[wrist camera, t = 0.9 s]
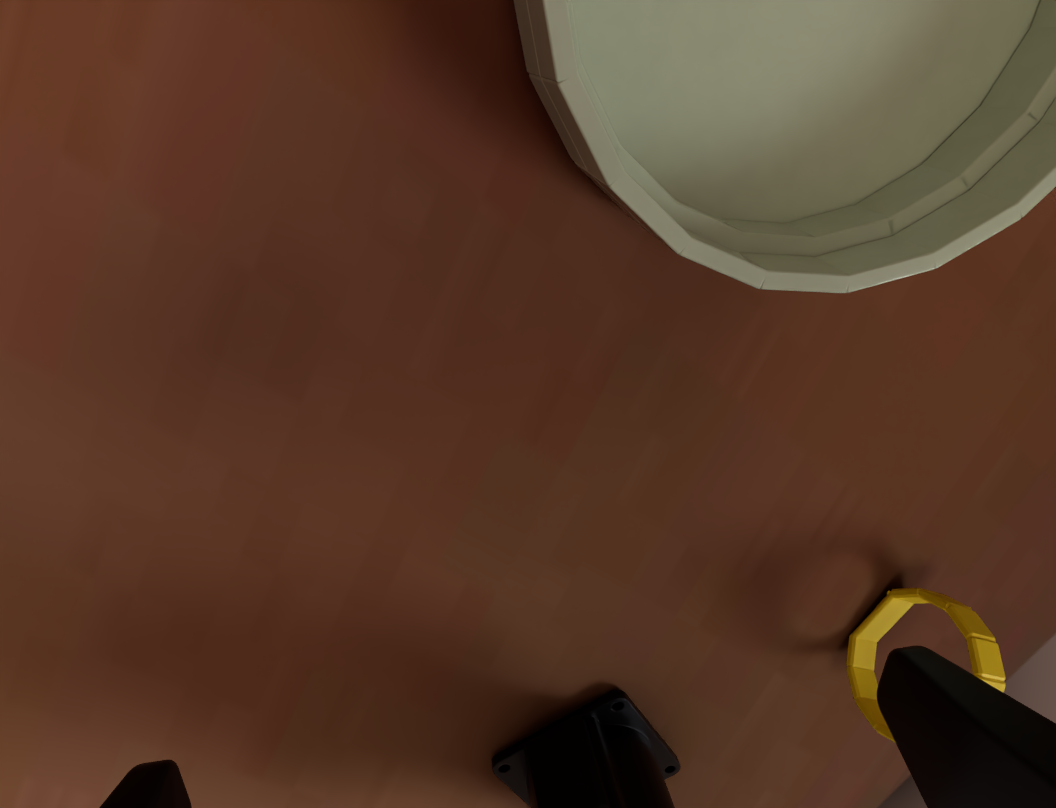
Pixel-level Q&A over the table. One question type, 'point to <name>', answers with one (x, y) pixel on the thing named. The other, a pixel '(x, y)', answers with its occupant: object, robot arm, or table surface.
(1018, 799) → the robot arm
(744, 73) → the bowl
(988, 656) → the watch
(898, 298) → the table surface
